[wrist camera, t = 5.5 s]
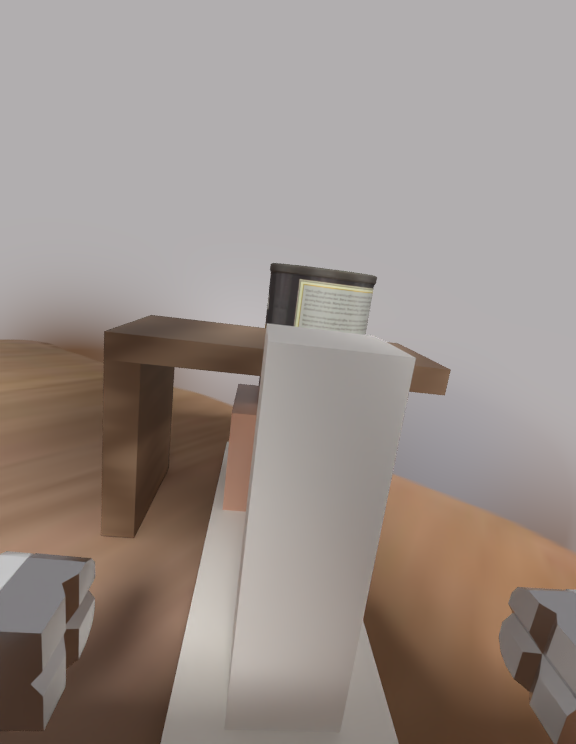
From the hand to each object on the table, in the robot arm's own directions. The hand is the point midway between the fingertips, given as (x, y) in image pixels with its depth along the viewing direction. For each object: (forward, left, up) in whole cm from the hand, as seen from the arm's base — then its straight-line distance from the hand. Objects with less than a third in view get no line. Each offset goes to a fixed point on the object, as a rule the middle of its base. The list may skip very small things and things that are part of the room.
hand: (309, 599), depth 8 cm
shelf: (0, +14, -7) cm, 15 cm away
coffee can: (+4, +33, -7) cm, 34 cm away
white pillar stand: (0, +10, -7) cm, 12 cm away
